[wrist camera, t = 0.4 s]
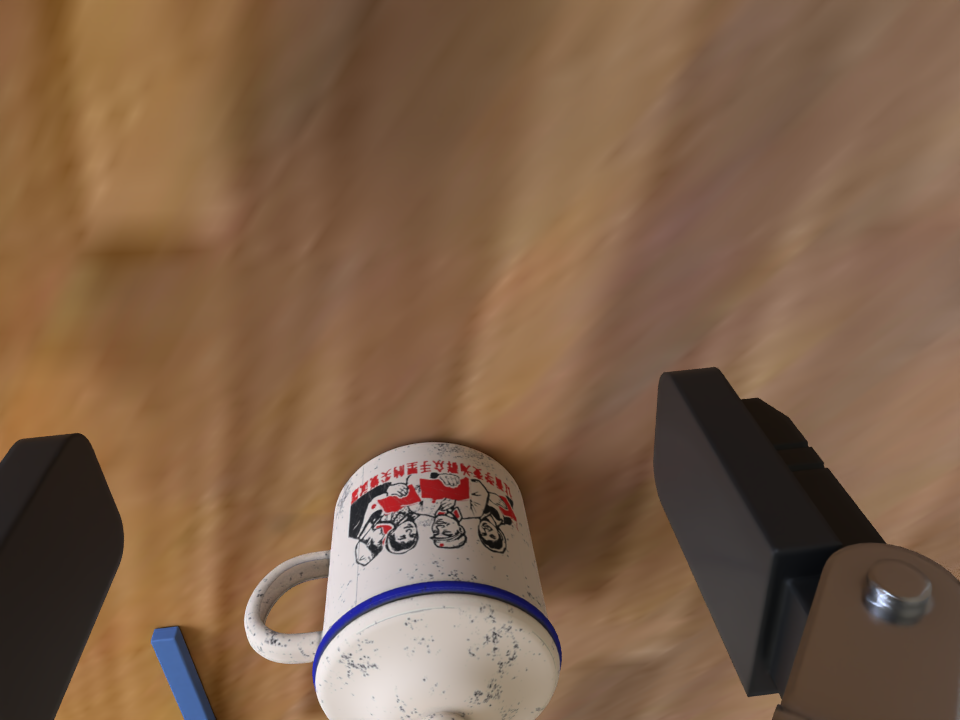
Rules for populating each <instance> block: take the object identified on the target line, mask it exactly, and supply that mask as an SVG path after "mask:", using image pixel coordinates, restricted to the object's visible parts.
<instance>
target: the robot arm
mask: <svg viewBox="0 0 960 720" xmlns="http://www.w3.org/2000/svg"><path fill="white" fill-rule="evenodd" d="M653 463H654V476H655V483H656V488H657V492H658V496H659V499H660V501H661V504H662V506H663V508H664V511H665V513H666V515H667V517H668V520H669V522H670V524H671V526H672V529H673V531H674V533H675V535H676V537H677V540H678V542H679V544H680V546H681V549H682V551H683V553H684V555H685V558H686V560H687V562H688V564H689V567H690V569H691V571H692V573H693V575H694V578H695V580H696V582H697V584H698V587H699V589H700V591H701V593H702V596H703V598H704V600H705V602H706V605H707V607H708V609H709V611H710V613H711V616H712V618H713V620H714V622H715V625H716V627H717V629H718V631H719V634H720V636H721V638H722V640H723V643H724V645H725V647H726V649H727V651H728V654H729V656H730V658H731V660H732V663H733V665H734V667H735V669H736V672H737V674H738V676H739V678H740V681H741V683H742V685H743V687H744V690H745V692H746V694H747V696H748V697H751V696H759V695H767V694H775V693H779V694H780V697H781V699H782V701H781V704H780V705H779V704H778V705H777V707H776V710H775V712H774V715H773V718H772V720H960V582H959V581H958V580H957V579H956V578H955V577H954V576H953V575H952V574H951V573H950V572H949V571H948V570H946V569H945V568H944V567H942V566H941V565H939V564H938V563H936V562H934V561H933V560H931V559H929V558H928V557H925V556H923V555H921V554H919V553H917V552H914V551H911V550H909V549H906V548H902V547H899V546H895V545H890V544H886V542H885V541H884V540H883V538H882V537H881V536H880V535H879V533H878V532H877V531H876V529H875V528H874V527H873V526H872V524H871V523H870V522H869V520H868V519H867V518H866V517H865V515H864V514H863V513H862V511H861V510H860V509H859V507H858V506H857V505H856V504H855V502H854V501H853V500H852V498H851V497H850V496H849V495H848V493H847V492H846V491H845V489H844V488H843V487H842V486H841V484H840V483H839V482H838V480H837V479H836V478H835V476H834V475H833V474H832V473H831V471H830V470H829V469H828V468H824V462H823V461H822V460H821V458H820V457H819V456H818V455H817V453H816V452H815V451H814V449H813V448H812V447H808V442H807V440H806V439H805V438H804V436H803V435H802V434H801V433H800V431H799V430H798V429H797V427H796V426H795V425H794V424H793V422H792V421H791V420H790V418H789V417H787V416H786V415H784V414H783V413H781V412H780V411H778V410H776V409H775V408H773V407H772V406H770V405H768V404H767V403H765V402H764V401H762V400H761V399H759V398H751V399H742V400H741V399H740V398H739V396H738V395H737V394H736V392H735V391H734V389H733V388H732V386H731V385H730V384H729V382H728V381H727V379H726V378H725V377H724V375H723V374H722V372H721V371H720V370H719V369H718V368H716V367H711V368H702V369H692V370H683V371H673V372H665V373H663V374H662V375H661V377H660V380H659V385H658V398H657V413H656V428H655V443H654V460H653ZM123 547H124V532H123V525H122V520H121V517H120V514H119V512H118V509H117V507H116V504H115V502H114V499H113V497H112V495H111V492H110V490H109V487H108V485H107V482H106V480H105V477H104V475H103V472H102V470H101V467H100V465H99V463H98V460H97V458H96V455H95V453H94V450H93V448H92V446H91V444H90V442H89V440H88V439H87V438H86V437H85V436H84V435H82V434H80V433H74V434H65V435H55V436H46V437H36V438H27V439H21V440H18V441H17V442H16V443H15V444H14V445H13V446H12V447H11V449H10V450H9V451H8V453H7V454H6V456H5V457H4V458H3V460H2V461H1V463H0V720H54V718H55V716H56V714H57V711H58V709H59V707H60V704H61V702H62V699H63V697H64V695H65V692H66V690H67V688H68V685H69V683H70V681H71V678H72V676H73V673H74V671H75V669H76V666H77V664H78V662H79V659H80V657H81V654H82V652H83V650H84V647H85V645H86V643H87V640H88V638H89V635H90V633H91V631H92V628H93V626H94V624H95V621H96V619H97V617H98V614H99V612H100V609H101V607H102V605H103V602H104V600H105V598H106V595H107V593H108V590H109V588H110V586H111V583H112V581H113V579H114V576H115V574H116V572H117V569H118V567H119V564H120V562H121V558H122V554H123Z"/></svg>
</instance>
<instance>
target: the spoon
mask: <svg viewBox="0 0 960 720" xmlns="http://www.w3.org/2000/svg"><path fill="white" fill-rule="evenodd" d="M151 644H152V646H153V648H154V650H155V653H156V655H157V657H158V660H159V662H160V664H161V667H162V669H163V671H164V673H165V676H166V678H167V680H168V683H169V685H170V687H171V690H172V692H173V694H174V696H175V699H176V701H177V703H178V706H179V708H180V710H181V713H182V715H183V717H184V719H185V720H216V719H215V717H214V714H213V712H212V709H211V707H210V704H209V702H208V699H207V697H206V694H205V692H204V689H203V687H202V684H201V682H200V679H199V676H198V674H197V671H196V669H195V666H194V664H193V661H192V659H191V656H190V654H189V651H188V649H187V646H186V644H185V641H184V639H183V636H182V634H181V631H180V629H179V627H177V626H176V627H168V628H159V629H155V630H154V633H153V636H152V639H151Z"/></svg>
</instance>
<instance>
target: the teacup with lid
mask: <svg viewBox="0 0 960 720" xmlns="http://www.w3.org/2000/svg"><path fill="white" fill-rule="evenodd" d="M327 577H328V586H327V597H326V607H325V617H324V627H323V631H319V632H310V633H300V634H283V633H278V632H275V631H273V630H271V629H269V628H268V627H266V626H265V622H266V619H267V616H268V614H269V612H270V610H271V608H272V607H273V605H274V604H275V603H276V602H277V600H278V599H279V598H280V597H281V596H282V595H283V594H284V593H285V592H287V591H288V590H289V589H291V588H292V587H294V586H296V585H298V584H300V583H303V582H306V581H309V580H314V579H319V578H327ZM244 621H245V630H246V634H247V638H248V640H249V643H250V645H251V646H252V647H253V649H254V650H255V651H256V652H257V653H259V654H260V655H261V656H263V657H264V658H266V659H269V660H271V661H274V662H278V663H286V664H297V663H309V662H313V673H312V674H313V683H314V687H315V691H316V693H317V697H318V700H319V703H320V705H321V707H322V709H323V711H324V712H325V714H326V715H327V717H328V718H329V720H535V719H536V718H537V717H538V716H539V714H540V713H541V712H542V711H543V710H544V708H545V707H546V706H547V704H548V703H549V701H550V699H551V697H552V695H553V693H554V691H555V689H556V686H557V683H558V679H559V674H560V669H561V662H562V652H561V646H560V642H559V639H558V635H557V633H556V631H555V629H554V627H553V626H552V624H551V623H550V621H549V620H548V616H547V611H546V607H545V602H544V597H543V592H542V588H541V583H540V578H539V574H538V569H537V564H536V559H535V555H534V550H533V545H532V540H531V536H530V531H529V526H528V522H527V517H526V512H525V507H524V503H523V498H522V495H521V492H520V490H519V488H518V485H517V484H516V482H515V480H514V479H513V477H512V476H511V475H510V474H509V472H508V471H507V470H506V469H505V468H504V467H503V466H502V465H500V464H499V463H498V462H497V461H495V460H494V459H492V458H491V457H489V456H488V455H486V454H484V453H482V452H480V451H477V450H475V449H472V448H469V447H466V446H462V445H457V444H451V443H442V442H425V443H416V444H411V445H406V446H402V447H398V448H395V449H392V450H390V451H387V452H385V453H383V454H381V455H379V456H377V457H375V458H373V459H372V460H370V461H369V462H367V463H366V464H364V465H363V466H362V467H361V468H360V469H358V470H357V471H356V472H355V474H354V475H353V476H352V477H351V478H350V479H349V480H348V482H347V483H346V485H345V486H344V488H343V489H342V491H341V493H340V496H339V498H338V501H337V504H336V509H335V515H334V525H333V535H332V545H331V550H329V551H321V552H314V553H308V554H304V555H300V556H297V557H294V558H292V559H289V560H287V561H285V562H283V563H282V564H280V565H279V566H277V567H276V568H275V569H273V570H272V571H271V572H270V573H269V574H267V575H266V576H265V577H264V578H263V580H262V581H261V582H260V583H259V584H258V586H257V587H256V589H255V590H254V592H253V594H252V595H251V597H250V599H249V602H248V605H247V607H246V612H245V619H244Z"/></svg>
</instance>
